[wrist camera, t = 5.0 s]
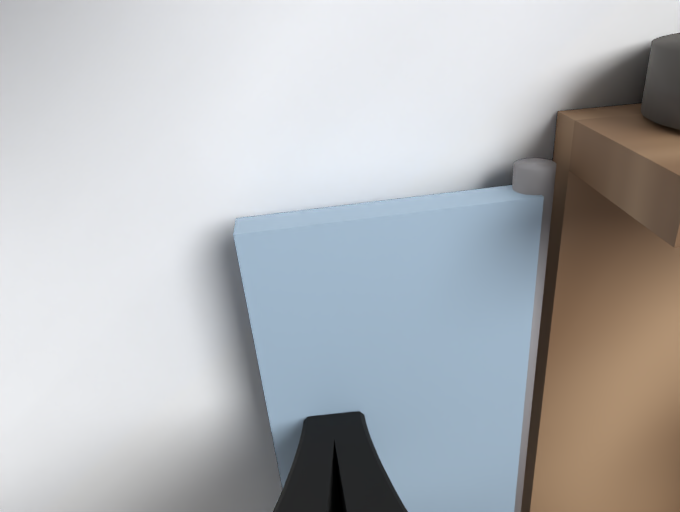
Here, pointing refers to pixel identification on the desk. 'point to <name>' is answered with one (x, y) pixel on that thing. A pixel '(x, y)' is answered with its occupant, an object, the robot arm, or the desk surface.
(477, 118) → the desk surface
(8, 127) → the desk surface
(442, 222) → the panel
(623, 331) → the truck bed
